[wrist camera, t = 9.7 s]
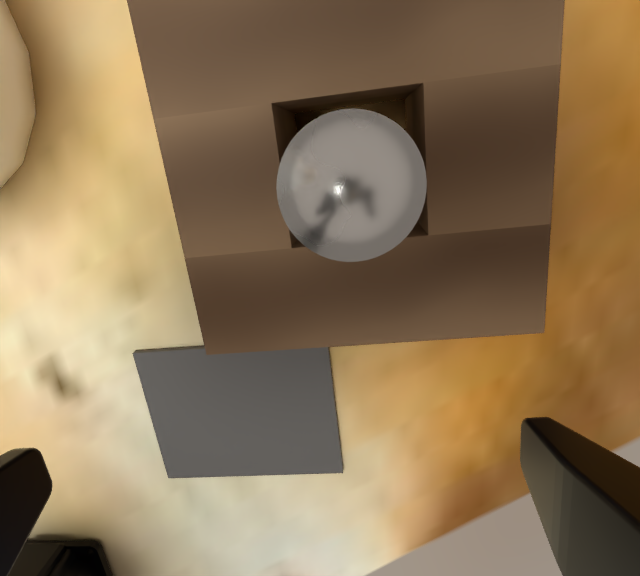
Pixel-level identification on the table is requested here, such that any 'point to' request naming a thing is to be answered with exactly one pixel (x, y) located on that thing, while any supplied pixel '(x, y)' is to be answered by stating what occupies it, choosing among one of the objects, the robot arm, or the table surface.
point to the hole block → (342, 91)
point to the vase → (14, 96)
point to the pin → (351, 185)
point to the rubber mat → (242, 411)
